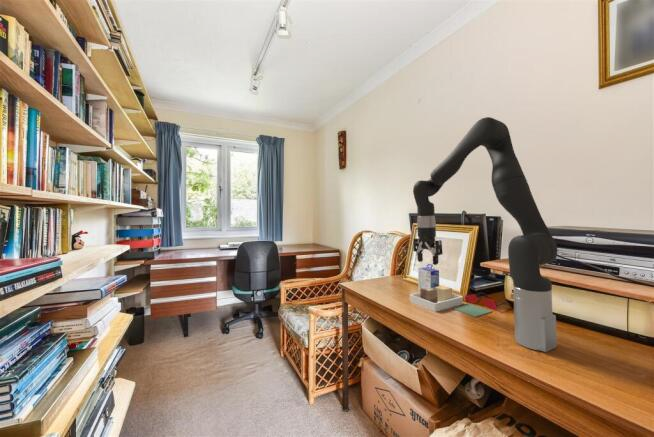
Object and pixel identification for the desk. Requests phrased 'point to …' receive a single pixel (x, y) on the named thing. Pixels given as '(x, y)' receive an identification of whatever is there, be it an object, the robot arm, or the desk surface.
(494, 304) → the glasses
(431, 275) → the ink cartridge box
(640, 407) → the desk surface
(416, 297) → the bin
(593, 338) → the desk surface
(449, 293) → the kraft block
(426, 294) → the labelled block
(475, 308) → the felt mat
